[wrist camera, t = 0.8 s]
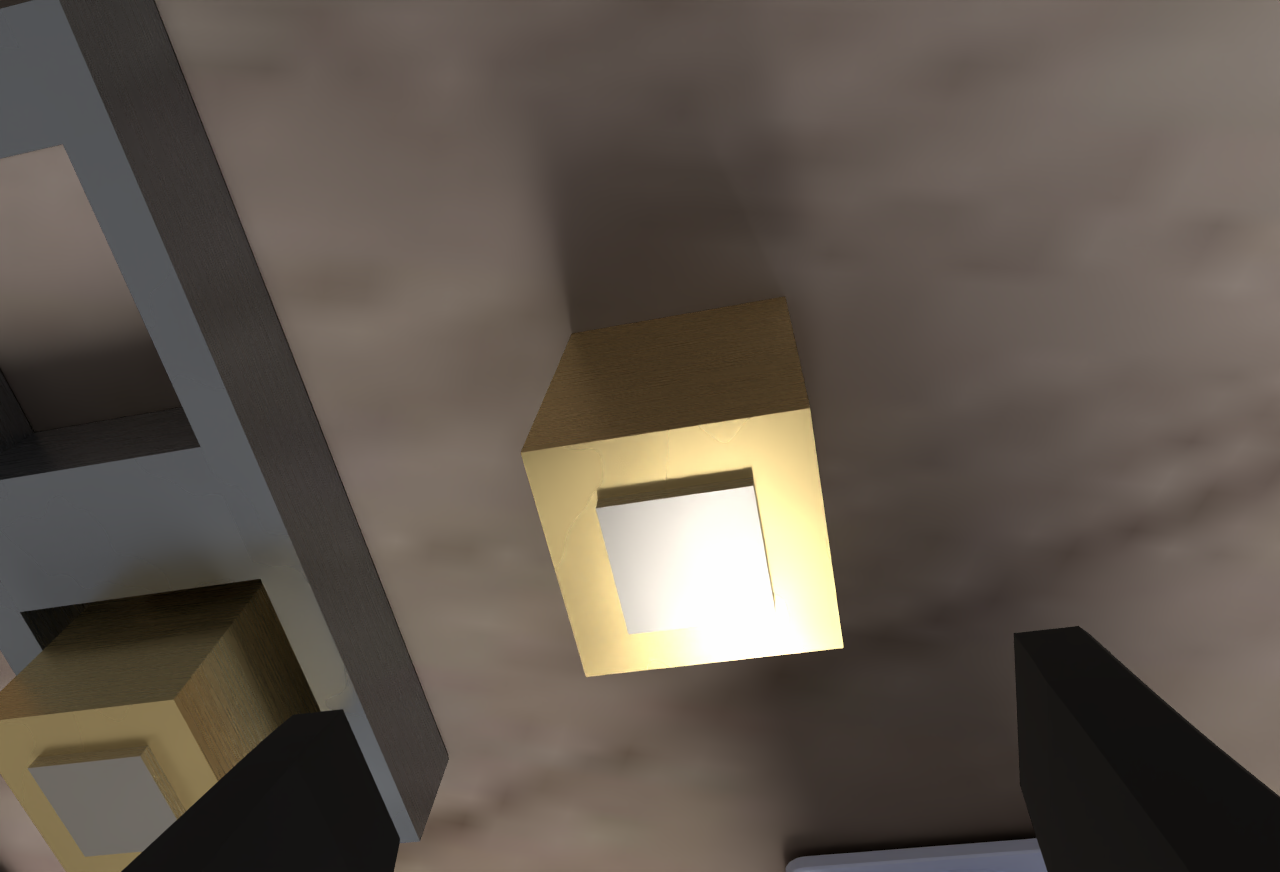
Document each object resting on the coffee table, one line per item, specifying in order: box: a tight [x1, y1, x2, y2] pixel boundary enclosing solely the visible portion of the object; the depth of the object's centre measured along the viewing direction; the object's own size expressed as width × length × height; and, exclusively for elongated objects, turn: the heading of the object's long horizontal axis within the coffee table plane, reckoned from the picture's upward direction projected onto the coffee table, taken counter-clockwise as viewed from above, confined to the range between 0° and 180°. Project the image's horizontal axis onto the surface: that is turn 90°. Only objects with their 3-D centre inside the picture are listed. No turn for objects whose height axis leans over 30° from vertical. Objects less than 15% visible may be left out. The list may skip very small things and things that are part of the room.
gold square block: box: [521, 297, 843, 677], centre depth 15 cm, size 4×4×5 cm
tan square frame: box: [0, 579, 321, 872], centre depth 18 cm, size 4×4×5 cm
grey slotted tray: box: [0, 0, 449, 843], centre depth 18 cm, size 17×7×2 cm, turn 12°
